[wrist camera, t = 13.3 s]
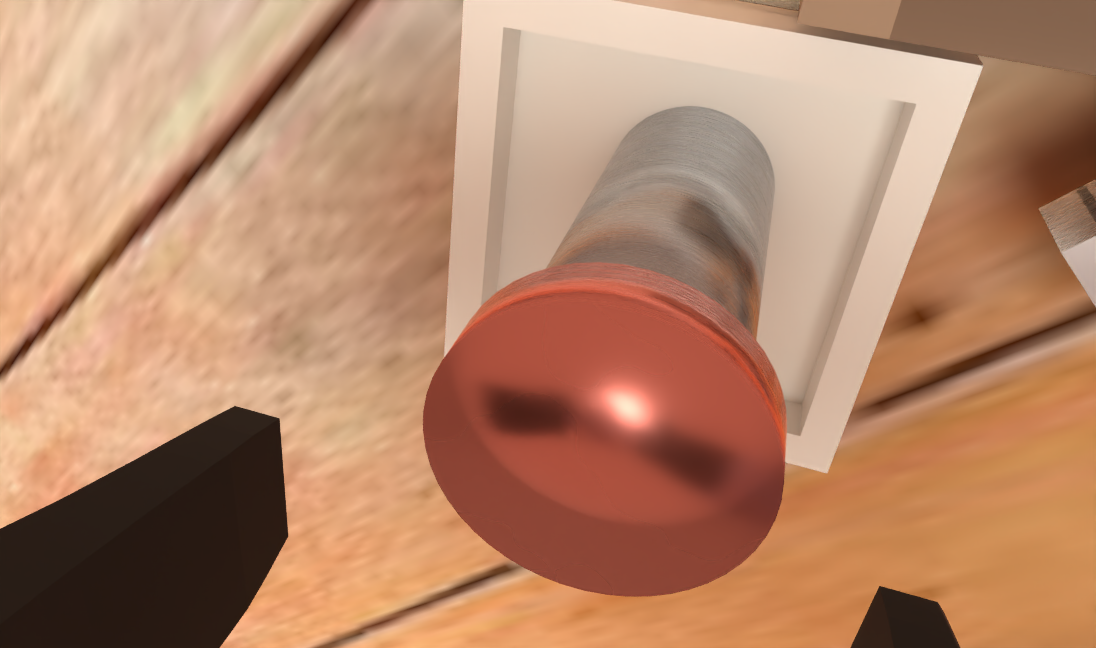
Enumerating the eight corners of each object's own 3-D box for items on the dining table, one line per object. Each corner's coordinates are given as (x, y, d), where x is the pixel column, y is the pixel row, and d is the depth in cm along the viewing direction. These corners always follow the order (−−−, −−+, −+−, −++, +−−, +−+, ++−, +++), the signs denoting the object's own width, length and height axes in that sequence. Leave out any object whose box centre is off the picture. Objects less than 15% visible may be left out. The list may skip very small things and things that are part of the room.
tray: (827, 424, 21) (827, 473, 19) (469, 334, 22) (443, 373, 21) (969, 40, 16) (983, 65, 14) (496, -42, 17) (465, -27, 16)
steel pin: (764, 305, 19) (725, 637, 11) (569, 253, 19) (411, 535, 12) (831, 110, 16) (838, 368, 9) (607, 57, 17) (437, 257, 10)
